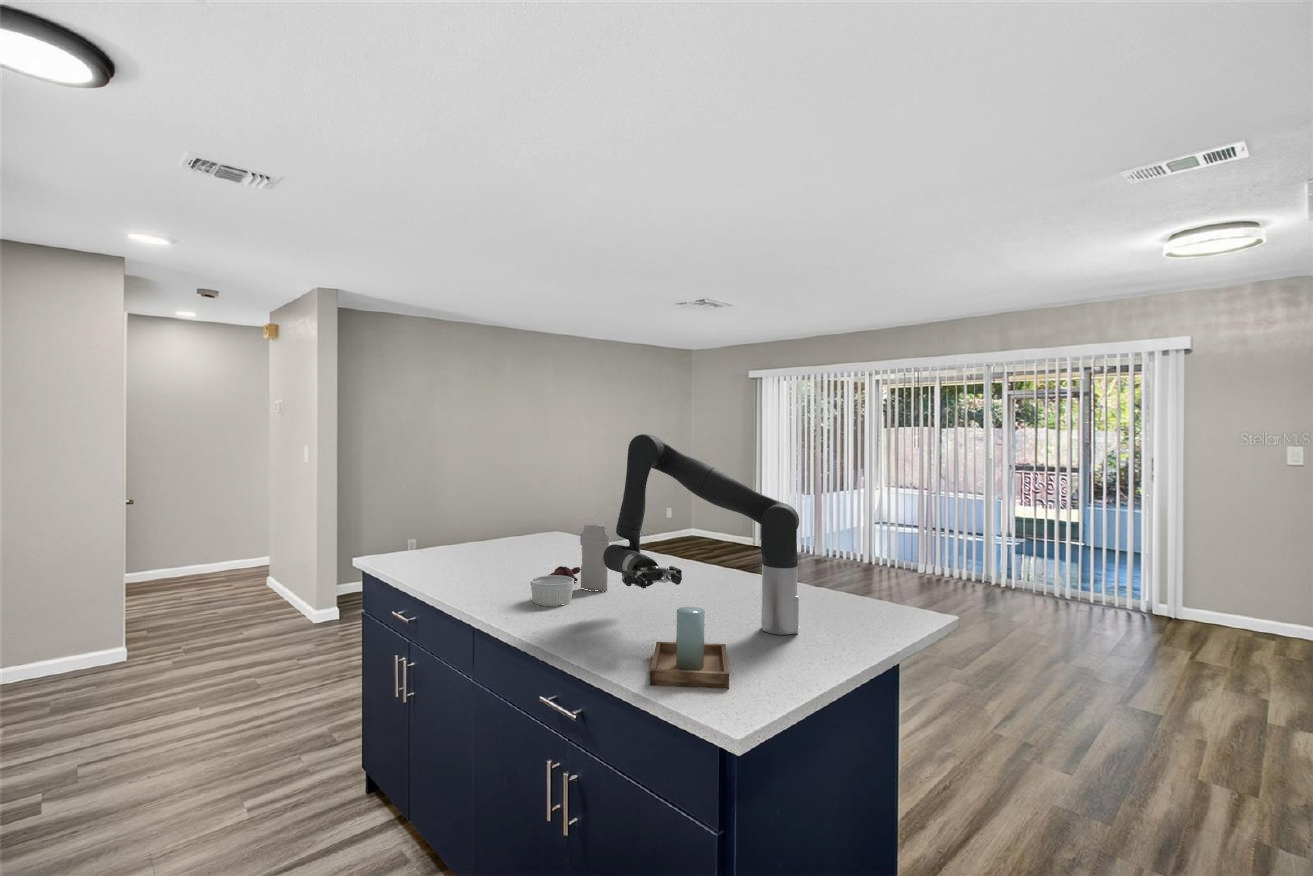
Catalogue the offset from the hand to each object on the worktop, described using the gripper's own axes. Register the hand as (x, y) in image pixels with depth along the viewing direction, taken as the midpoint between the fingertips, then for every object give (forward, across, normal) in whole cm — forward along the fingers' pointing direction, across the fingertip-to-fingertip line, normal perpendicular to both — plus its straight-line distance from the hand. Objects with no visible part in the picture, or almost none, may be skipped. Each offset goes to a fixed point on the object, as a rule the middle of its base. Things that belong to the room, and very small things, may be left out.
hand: (661, 582), depth 143 cm
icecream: (-71, -10, +16) cm, 73 cm away
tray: (+12, +2, +17) cm, 21 cm away
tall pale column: (-62, -1, +16) cm, 64 cm away
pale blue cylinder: (+13, +1, +16) cm, 20 cm away
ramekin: (-52, -17, +16) cm, 56 cm away
